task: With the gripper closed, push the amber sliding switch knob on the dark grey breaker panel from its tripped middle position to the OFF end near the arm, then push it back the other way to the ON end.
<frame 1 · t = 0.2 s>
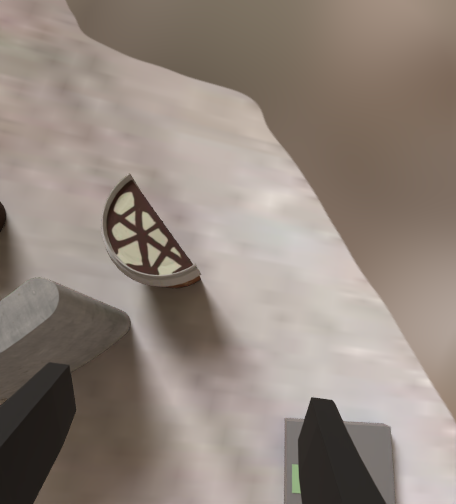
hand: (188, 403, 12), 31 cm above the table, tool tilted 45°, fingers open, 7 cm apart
food container: (156, 263, 45), on the table
hip flask: (66, 356, 42), on the table
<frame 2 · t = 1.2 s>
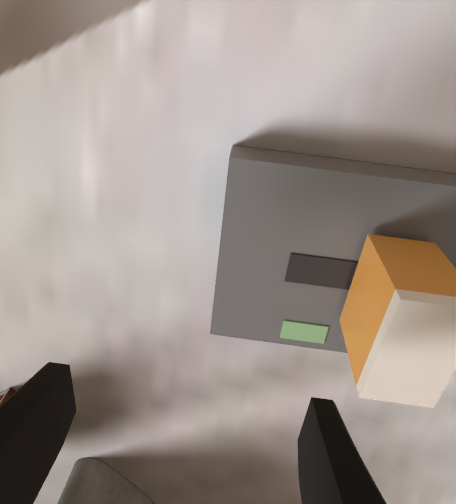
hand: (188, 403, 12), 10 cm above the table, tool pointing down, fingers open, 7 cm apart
breaker panel: (371, 258, 20), on the table
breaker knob: (399, 316, 16), point 5 cm above the table, slide at 0.0 cm
food container: (2, 426, 31), on the table
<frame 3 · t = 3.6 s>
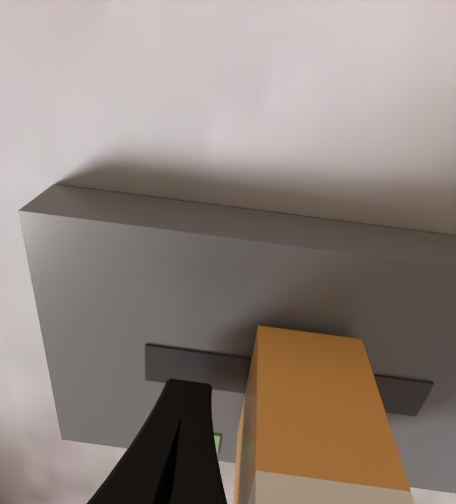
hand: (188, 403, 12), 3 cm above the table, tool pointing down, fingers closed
breaker panel: (281, 337, 14), on the table
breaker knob: (299, 464, 10), point 5 cm above the table, slide at -0.3 cm, touching gripper
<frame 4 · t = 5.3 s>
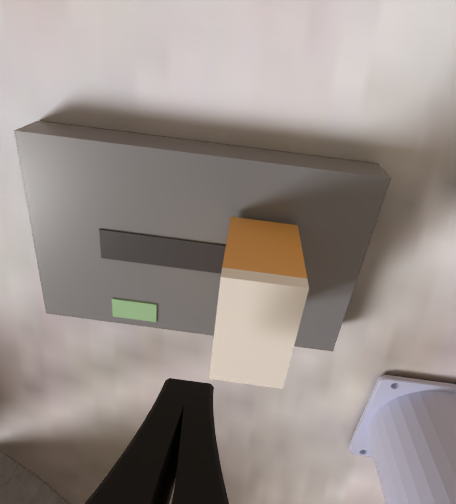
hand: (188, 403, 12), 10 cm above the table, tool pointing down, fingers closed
breaker panel: (199, 236, 20), on the table
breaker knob: (255, 298, 16), point 5 cm above the table, slide at -3.1 cm
hip flask: (40, 491, 36), on the table
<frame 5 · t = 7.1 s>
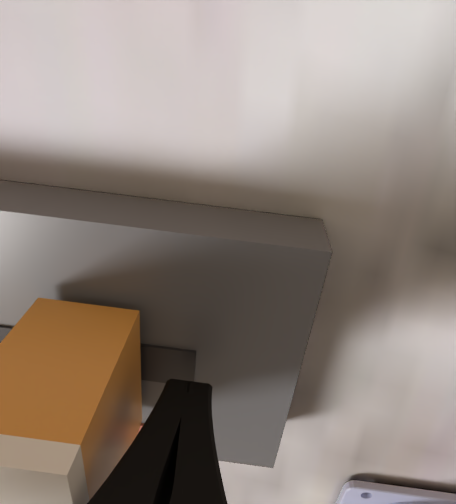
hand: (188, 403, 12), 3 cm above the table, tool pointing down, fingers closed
breaker panel: (83, 312, 15), on the table
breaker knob: (62, 431, 10), point 5 cm above the table, slide at -1.4 cm, touching gripper
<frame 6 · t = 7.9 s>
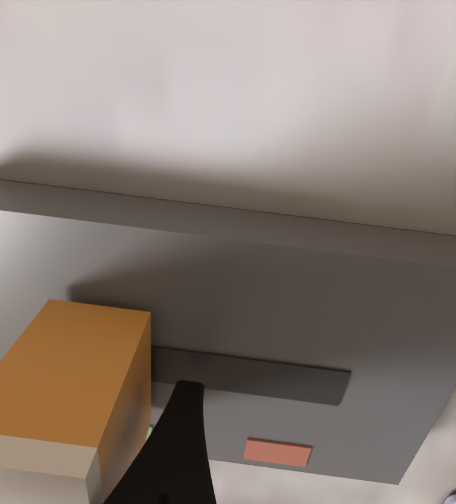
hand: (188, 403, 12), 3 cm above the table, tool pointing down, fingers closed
breaker panel: (212, 329, 14), on the table
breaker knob: (73, 433, 10), point 5 cm above the table, slide at 3.2 cm, touching gripper
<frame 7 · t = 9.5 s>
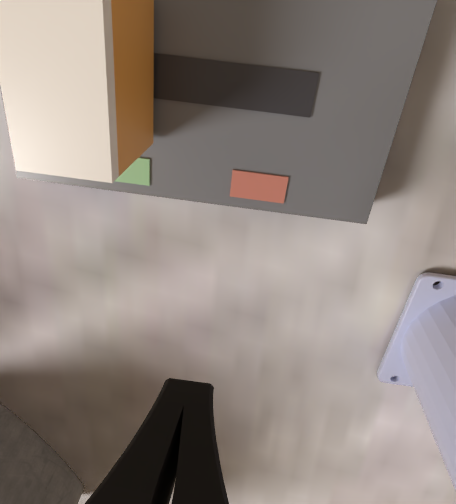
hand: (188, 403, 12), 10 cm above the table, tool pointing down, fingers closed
breaker panel: (203, 75, 17), on the table
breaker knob: (89, 79, 13), point 5 cm above the table, slide at 3.1 cm
hip flask: (24, 438, 32), on the table
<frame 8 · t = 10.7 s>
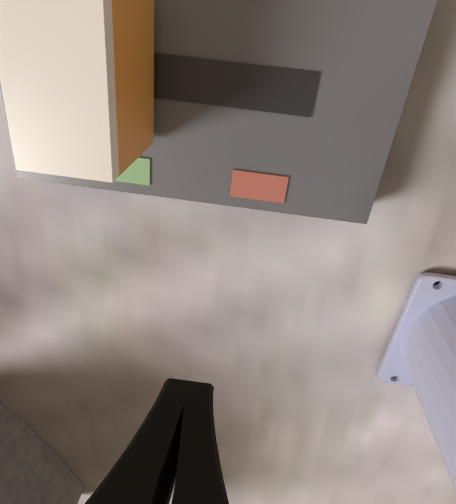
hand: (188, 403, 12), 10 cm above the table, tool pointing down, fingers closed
breaker panel: (203, 75, 17), on the table
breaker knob: (89, 78, 13), point 5 cm above the table, slide at 3.1 cm
hip flask: (24, 438, 32), on the table
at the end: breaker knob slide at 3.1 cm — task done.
